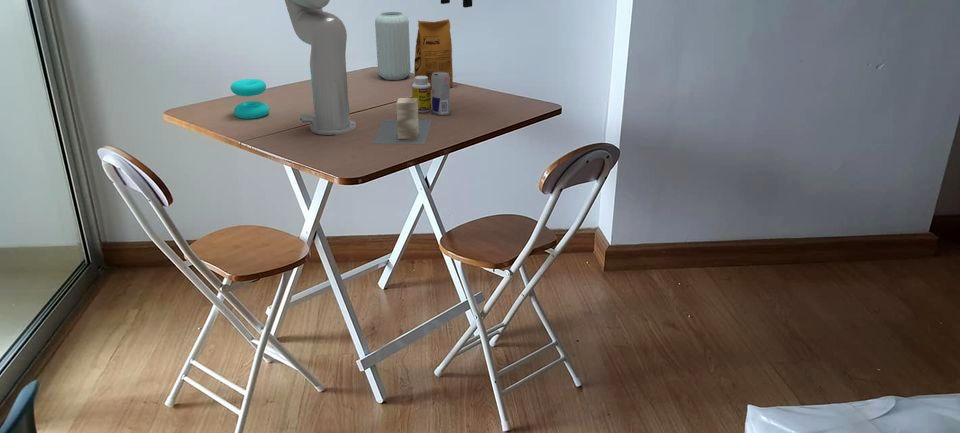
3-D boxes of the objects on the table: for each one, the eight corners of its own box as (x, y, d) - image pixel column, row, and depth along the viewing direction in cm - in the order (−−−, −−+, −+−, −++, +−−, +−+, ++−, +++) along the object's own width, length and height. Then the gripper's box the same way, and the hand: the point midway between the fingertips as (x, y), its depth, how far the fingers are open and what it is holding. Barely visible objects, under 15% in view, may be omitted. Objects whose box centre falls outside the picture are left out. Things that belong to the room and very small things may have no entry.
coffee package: (413, 83, 253) (411, 18, 244) (448, 81, 256) (447, 16, 247) (418, 90, 244) (415, 23, 235) (454, 88, 247) (453, 21, 238)
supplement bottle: (418, 114, 219) (417, 80, 215) (409, 109, 223) (408, 76, 219) (434, 111, 222) (433, 77, 218) (425, 107, 226) (424, 74, 222)
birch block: (398, 139, 196) (396, 103, 192) (400, 133, 200) (398, 98, 196) (416, 139, 195) (415, 103, 191) (418, 134, 200) (417, 98, 196)
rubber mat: (371, 145, 193) (371, 143, 193) (384, 120, 213) (383, 119, 213) (425, 145, 192) (424, 144, 192) (432, 121, 212) (432, 119, 212)
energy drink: (433, 110, 222) (432, 71, 217) (450, 111, 222) (450, 71, 217) (431, 116, 217) (430, 75, 212) (449, 116, 217) (448, 75, 212)
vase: (397, 83, 254) (393, 17, 245) (371, 78, 260) (367, 14, 251) (417, 76, 263) (415, 12, 254) (392, 72, 269) (389, 9, 259)
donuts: (267, 77, 220) (263, 85, 211) (271, 109, 224) (267, 119, 215) (232, 78, 218) (227, 86, 209) (237, 111, 222) (232, 120, 213)
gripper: (426, -58, 212) (427, 3, 219) (466, -55, 201) (467, 9, 208) (445, -59, 217) (446, 1, 224) (486, -56, 206) (486, 7, 212)
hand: (456, 5), depth 216 cm, fingers open, 9 cm apart
